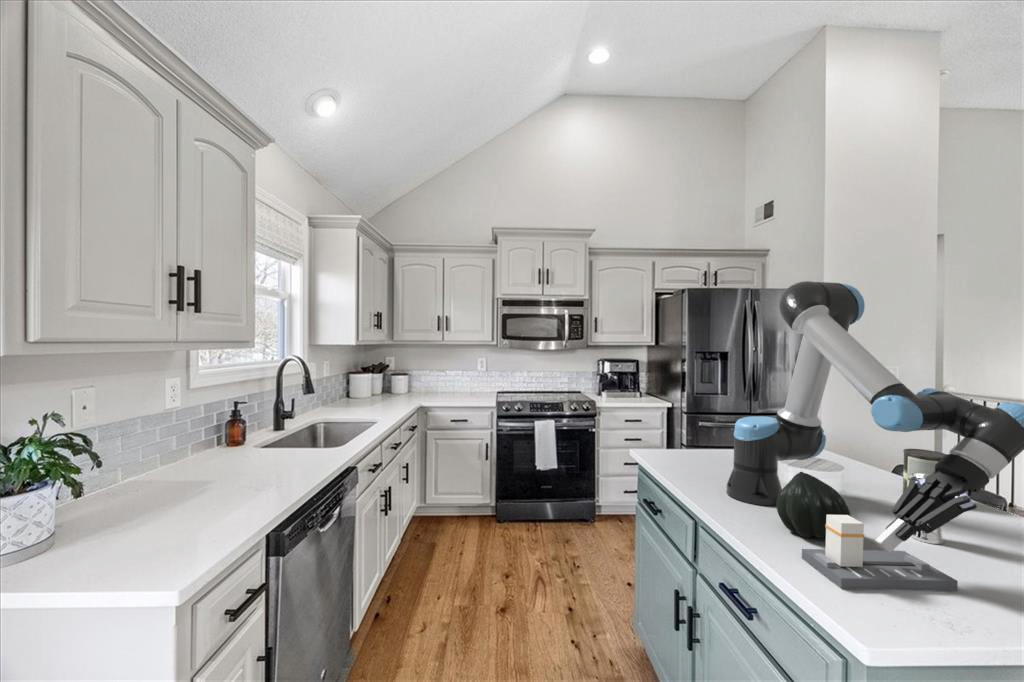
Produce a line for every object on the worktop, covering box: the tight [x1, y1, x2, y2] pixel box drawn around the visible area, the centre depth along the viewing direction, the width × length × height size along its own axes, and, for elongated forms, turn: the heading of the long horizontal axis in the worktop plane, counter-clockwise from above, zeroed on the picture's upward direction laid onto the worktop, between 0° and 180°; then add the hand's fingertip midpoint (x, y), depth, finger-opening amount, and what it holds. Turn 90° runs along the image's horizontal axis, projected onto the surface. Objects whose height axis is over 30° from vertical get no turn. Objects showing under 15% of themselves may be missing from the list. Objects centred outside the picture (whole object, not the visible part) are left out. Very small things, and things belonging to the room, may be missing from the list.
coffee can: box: [902, 448, 947, 493], centre depth 138 cm, size 10×10×14 cm
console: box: [801, 548, 959, 592], centre depth 94 cm, size 22×12×3 cm, turn 90°
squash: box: [775, 471, 851, 539], centre depth 113 cm, size 14×15×15 cm
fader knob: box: [824, 515, 865, 567], centre depth 93 cm, size 5×5×9 cm
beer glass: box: [910, 473, 944, 545], centre depth 111 cm, size 7×7×15 cm
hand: (882, 546), depth 93 cm, fingers closed
